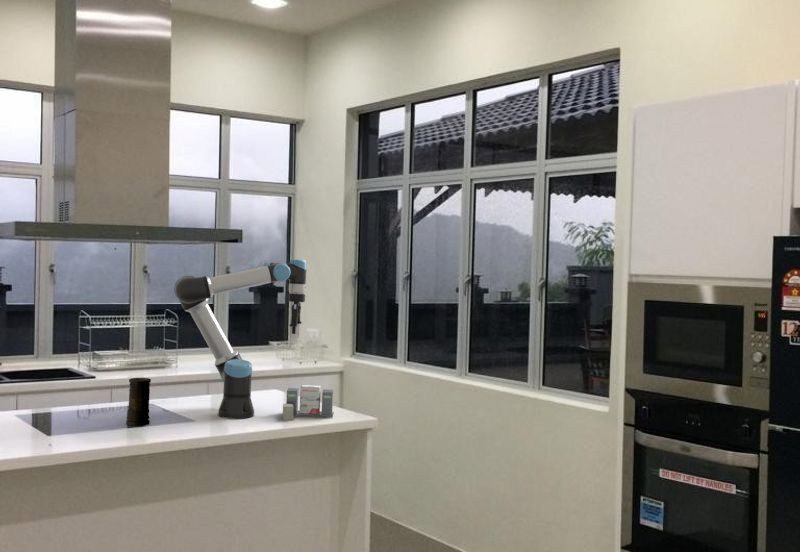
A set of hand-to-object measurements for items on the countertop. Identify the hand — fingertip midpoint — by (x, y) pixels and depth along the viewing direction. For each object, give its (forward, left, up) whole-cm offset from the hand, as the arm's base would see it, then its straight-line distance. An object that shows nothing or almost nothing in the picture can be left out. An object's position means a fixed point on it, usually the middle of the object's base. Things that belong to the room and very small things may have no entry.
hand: (294, 339), depth 363 cm
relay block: (0, -23, -32) cm, 39 cm away
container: (-57, -44, -32) cm, 79 cm away
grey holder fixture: (+9, -13, -32) cm, 35 cm away
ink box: (+9, -13, -31) cm, 35 cm away
